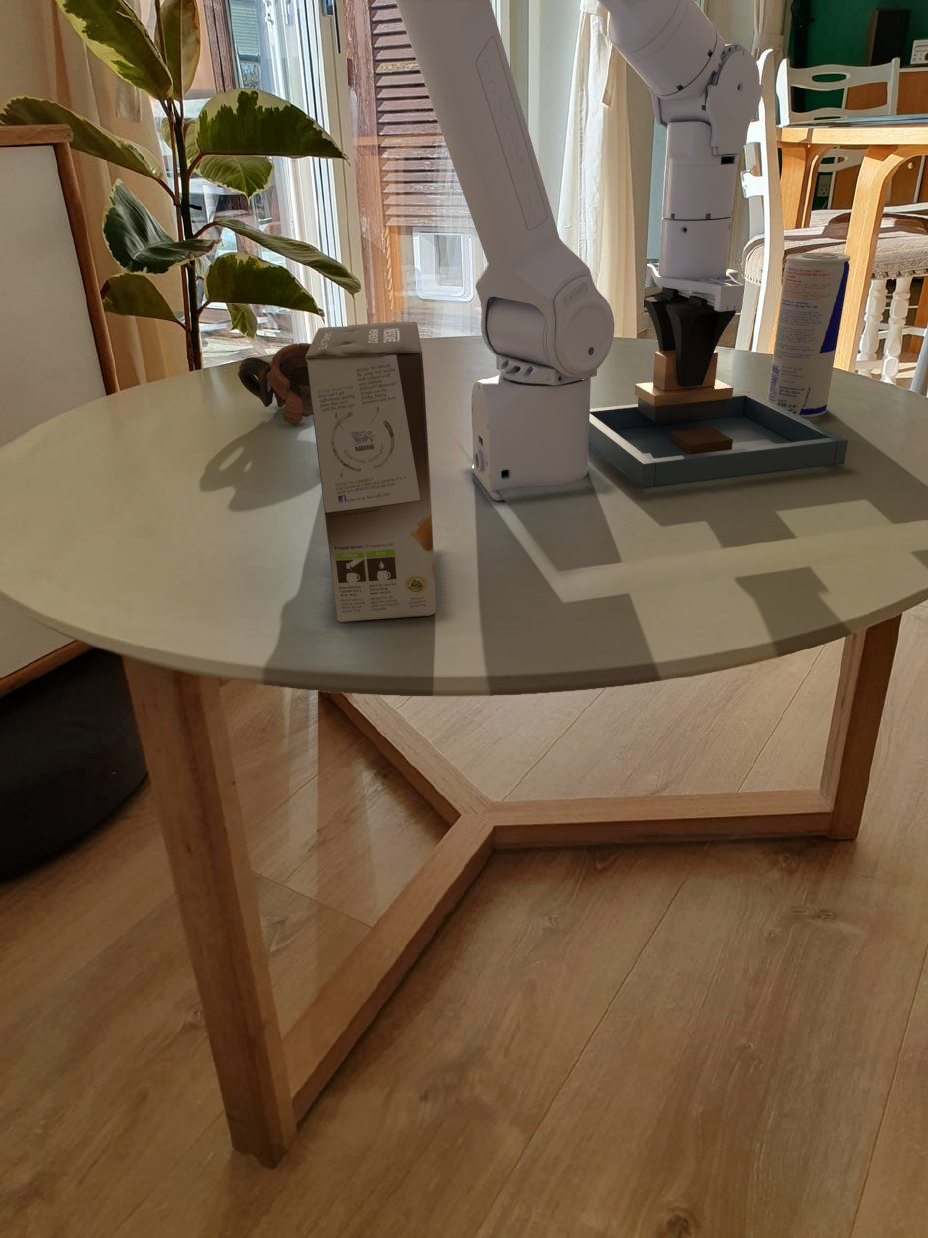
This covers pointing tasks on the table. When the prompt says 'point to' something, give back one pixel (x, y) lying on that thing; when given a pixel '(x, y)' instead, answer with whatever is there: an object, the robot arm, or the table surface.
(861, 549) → the table surface
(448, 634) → the table surface
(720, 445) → the mud patch
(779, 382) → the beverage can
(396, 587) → the coffee box
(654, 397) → the brush
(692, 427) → the tray
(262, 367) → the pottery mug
